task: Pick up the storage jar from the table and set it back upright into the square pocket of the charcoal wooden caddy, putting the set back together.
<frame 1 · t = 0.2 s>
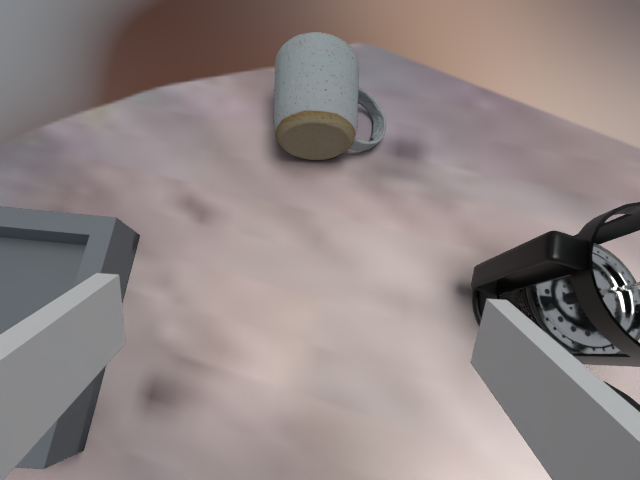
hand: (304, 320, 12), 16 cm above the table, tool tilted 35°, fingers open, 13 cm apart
french press: (517, 305, 29), on the table
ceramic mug: (327, 128, 34), on the table
caddy: (7, 323, 26), on the table
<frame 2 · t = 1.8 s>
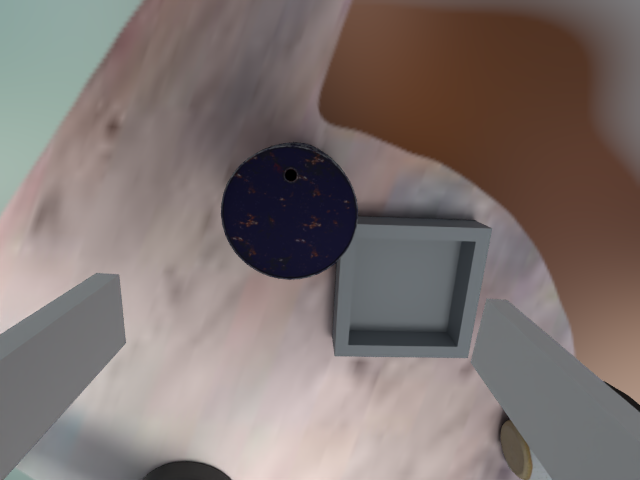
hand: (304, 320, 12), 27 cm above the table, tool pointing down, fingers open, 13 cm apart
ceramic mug: (524, 432, 50), on the table
storage jar: (296, 187, 38), on the table
caddy: (400, 281, 42), on the table
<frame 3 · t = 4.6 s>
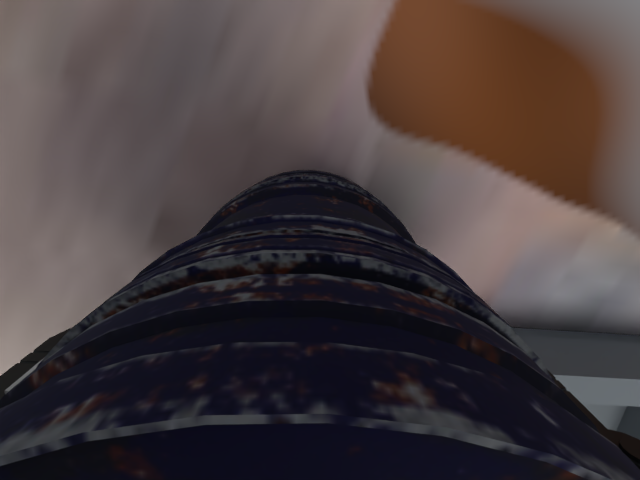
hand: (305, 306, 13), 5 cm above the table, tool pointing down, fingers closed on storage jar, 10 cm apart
storage jar: (307, 261, 18), on the table, touching gripper
caddy: (498, 438, 22), on the table
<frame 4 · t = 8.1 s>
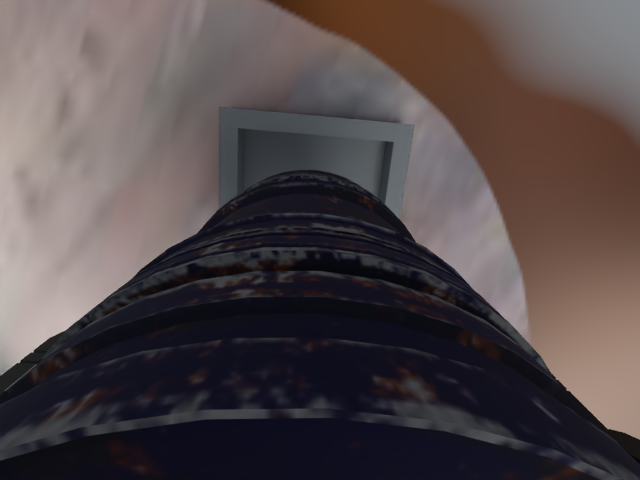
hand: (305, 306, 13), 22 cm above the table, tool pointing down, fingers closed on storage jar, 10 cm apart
storage jar: (307, 261, 18), point 17 cm above the table, touching gripper
caddy: (310, 202, 34), on the table
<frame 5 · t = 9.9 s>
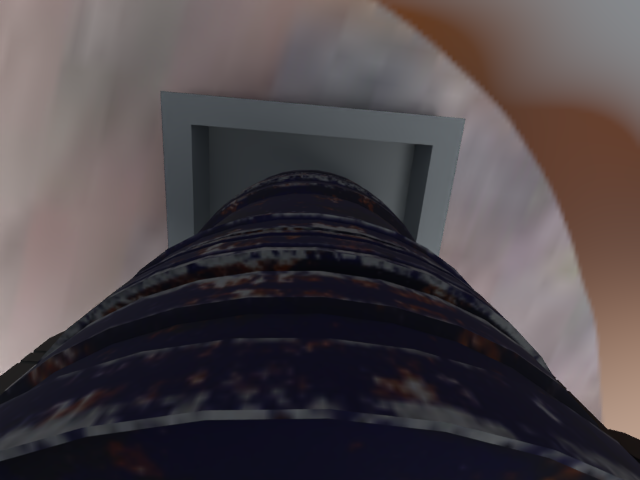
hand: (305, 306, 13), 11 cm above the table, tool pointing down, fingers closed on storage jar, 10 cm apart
storage jar: (307, 261, 18), point 6 cm above the table, touching gripper
caddy: (306, 231, 24), on the table
when the fingers open (8 cm above the table, at t = 11.6 s): storage jar drops 2 cm, resting on caddy.
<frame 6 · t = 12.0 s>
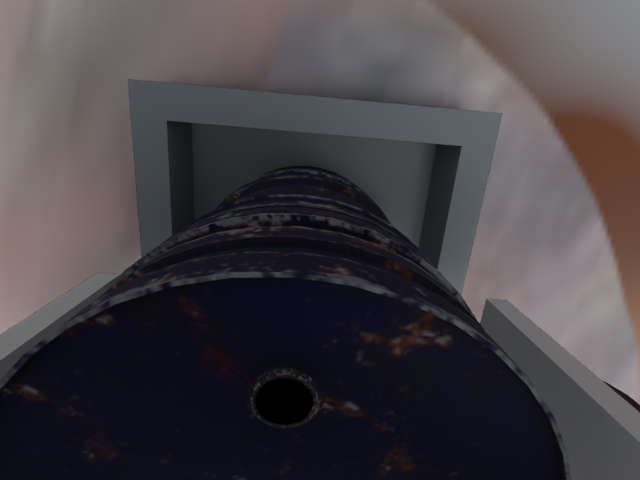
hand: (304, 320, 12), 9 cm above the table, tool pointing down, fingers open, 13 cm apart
storage jar: (301, 248, 20), point 1 cm above the table, touching caddy
caddy: (307, 245, 21), on the table
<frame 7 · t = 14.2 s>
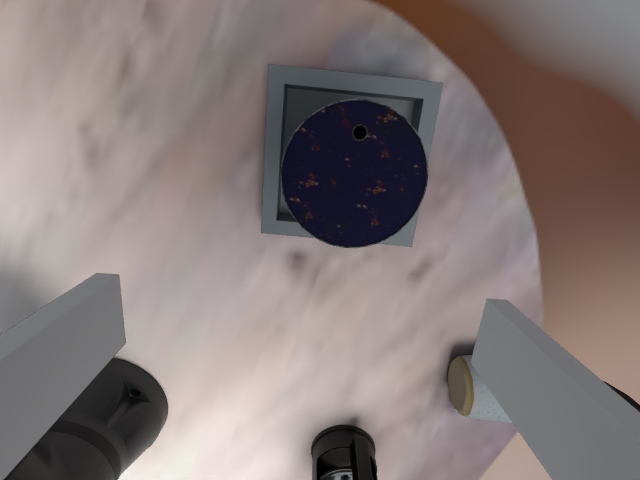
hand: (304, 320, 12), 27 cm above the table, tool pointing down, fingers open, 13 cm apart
french press: (344, 446, 50), on the table
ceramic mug: (475, 374, 46), on the table
storage jar: (340, 159, 36), point 1 cm above the table, touching caddy
caddy: (343, 159, 37), on the table
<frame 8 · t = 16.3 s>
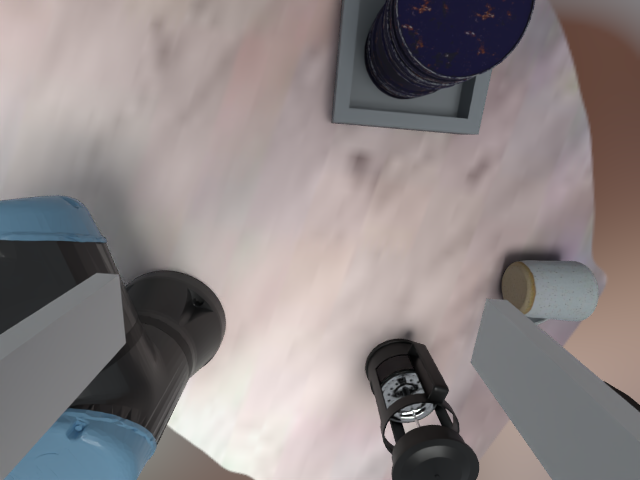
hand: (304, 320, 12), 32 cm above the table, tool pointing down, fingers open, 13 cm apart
french press: (397, 362, 51), on the table
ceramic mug: (526, 286, 48), on the table
storage jar: (406, 53, 38), point 1 cm above the table, touching caddy
caddy: (408, 54, 38), on the table
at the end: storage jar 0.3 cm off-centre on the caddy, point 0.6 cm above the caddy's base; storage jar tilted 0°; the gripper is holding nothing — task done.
